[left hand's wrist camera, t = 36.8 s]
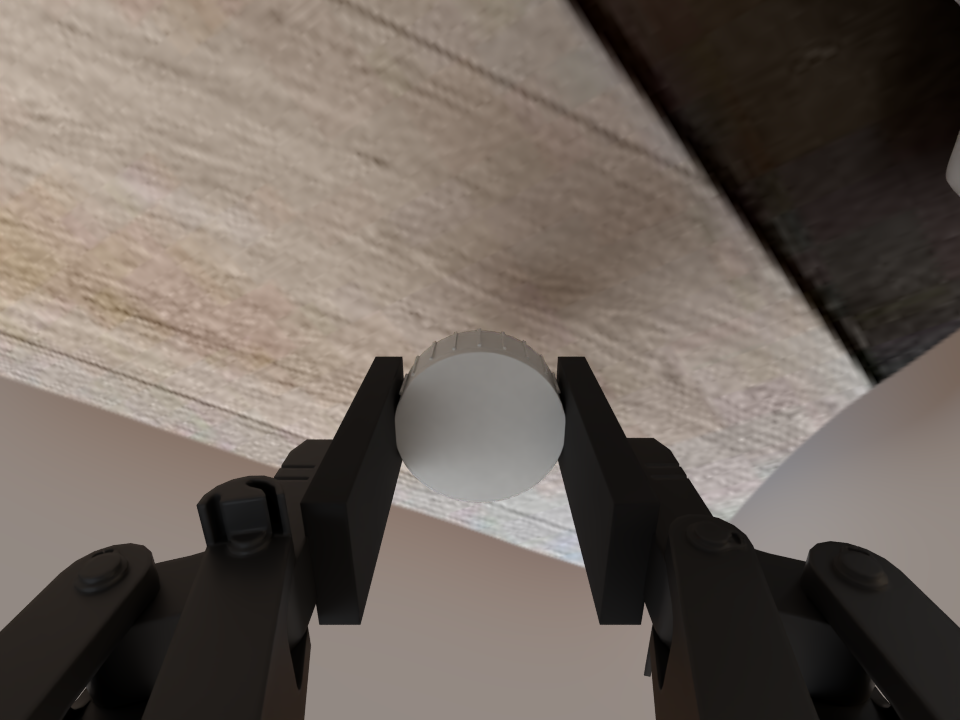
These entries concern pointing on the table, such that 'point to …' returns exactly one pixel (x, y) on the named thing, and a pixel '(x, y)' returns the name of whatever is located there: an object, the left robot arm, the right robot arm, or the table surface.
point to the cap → (480, 417)
